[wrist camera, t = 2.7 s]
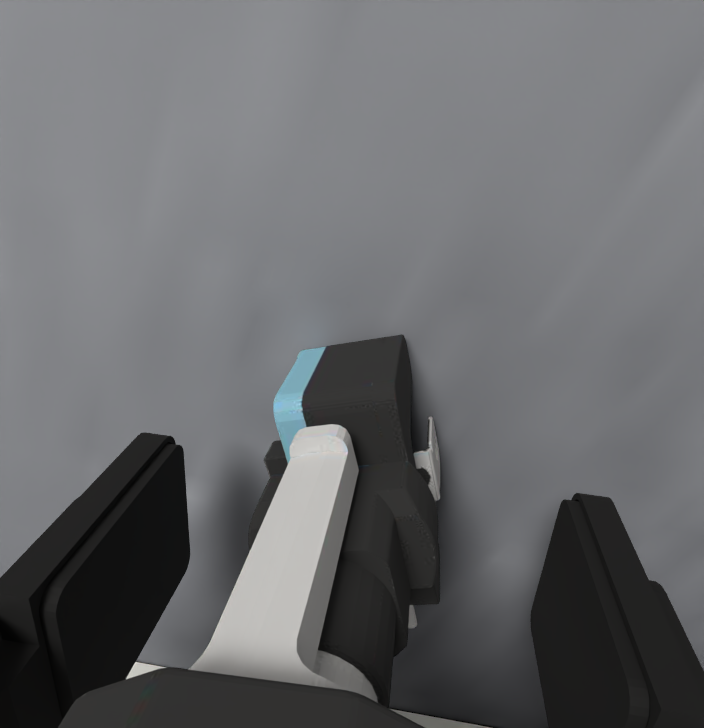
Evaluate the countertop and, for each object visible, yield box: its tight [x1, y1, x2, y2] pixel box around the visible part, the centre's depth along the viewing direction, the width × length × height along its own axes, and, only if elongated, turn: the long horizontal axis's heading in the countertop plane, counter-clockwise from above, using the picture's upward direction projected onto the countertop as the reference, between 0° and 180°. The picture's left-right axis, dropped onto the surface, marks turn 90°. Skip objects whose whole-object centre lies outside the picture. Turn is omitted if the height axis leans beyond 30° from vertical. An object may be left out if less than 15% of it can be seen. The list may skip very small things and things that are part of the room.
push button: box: [58, 335, 440, 728], centre depth 8 cm, size 7×5×10 cm
